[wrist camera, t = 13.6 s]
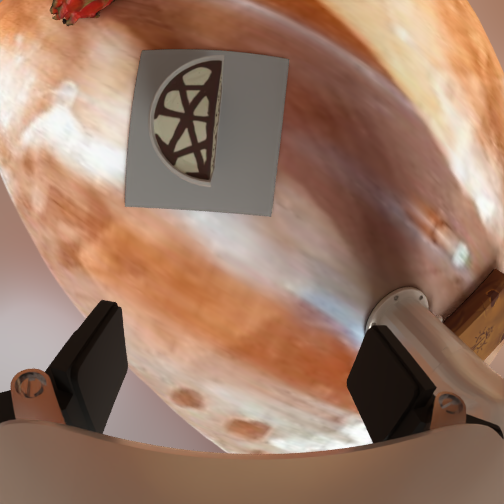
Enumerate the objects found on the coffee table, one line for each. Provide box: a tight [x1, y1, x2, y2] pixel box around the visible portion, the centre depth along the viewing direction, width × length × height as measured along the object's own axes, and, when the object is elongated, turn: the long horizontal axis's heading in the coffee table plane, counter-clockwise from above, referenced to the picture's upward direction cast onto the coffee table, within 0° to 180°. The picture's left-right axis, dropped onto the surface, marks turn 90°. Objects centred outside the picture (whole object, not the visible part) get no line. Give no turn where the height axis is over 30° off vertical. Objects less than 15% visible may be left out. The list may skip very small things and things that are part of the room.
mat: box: [125, 49, 289, 217], centre depth 30 cm, size 18×20×1 cm
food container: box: [148, 55, 224, 187], centre depth 25 cm, size 12×6×10 cm, turn 174°
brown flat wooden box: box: [443, 269, 504, 361], centre depth 45 cm, size 23×19×6 cm
